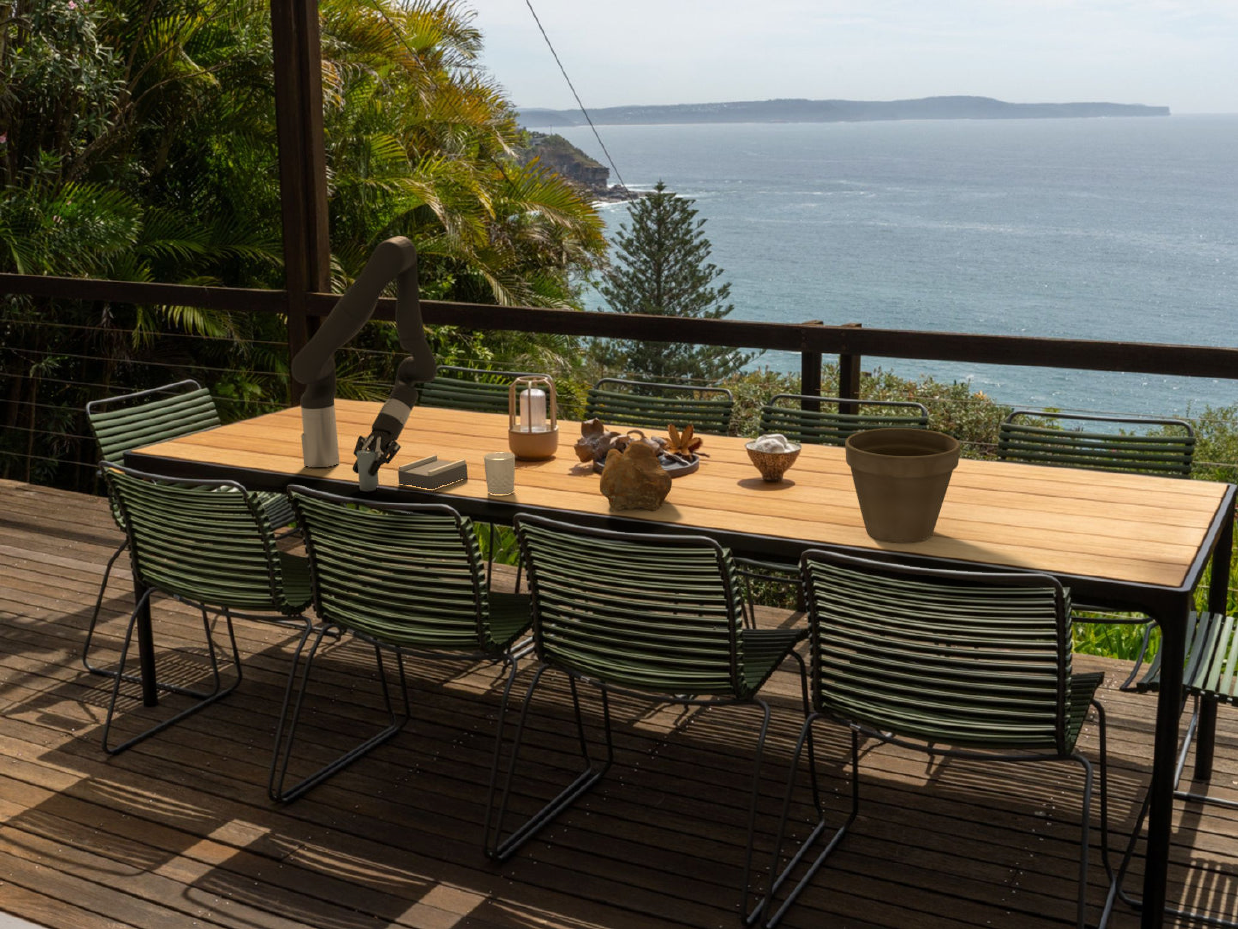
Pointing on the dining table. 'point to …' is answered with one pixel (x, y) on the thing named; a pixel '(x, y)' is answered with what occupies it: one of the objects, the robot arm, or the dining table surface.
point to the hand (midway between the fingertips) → (363, 473)
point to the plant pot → (901, 480)
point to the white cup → (500, 472)
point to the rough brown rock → (634, 478)
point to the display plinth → (432, 472)
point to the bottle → (366, 470)
